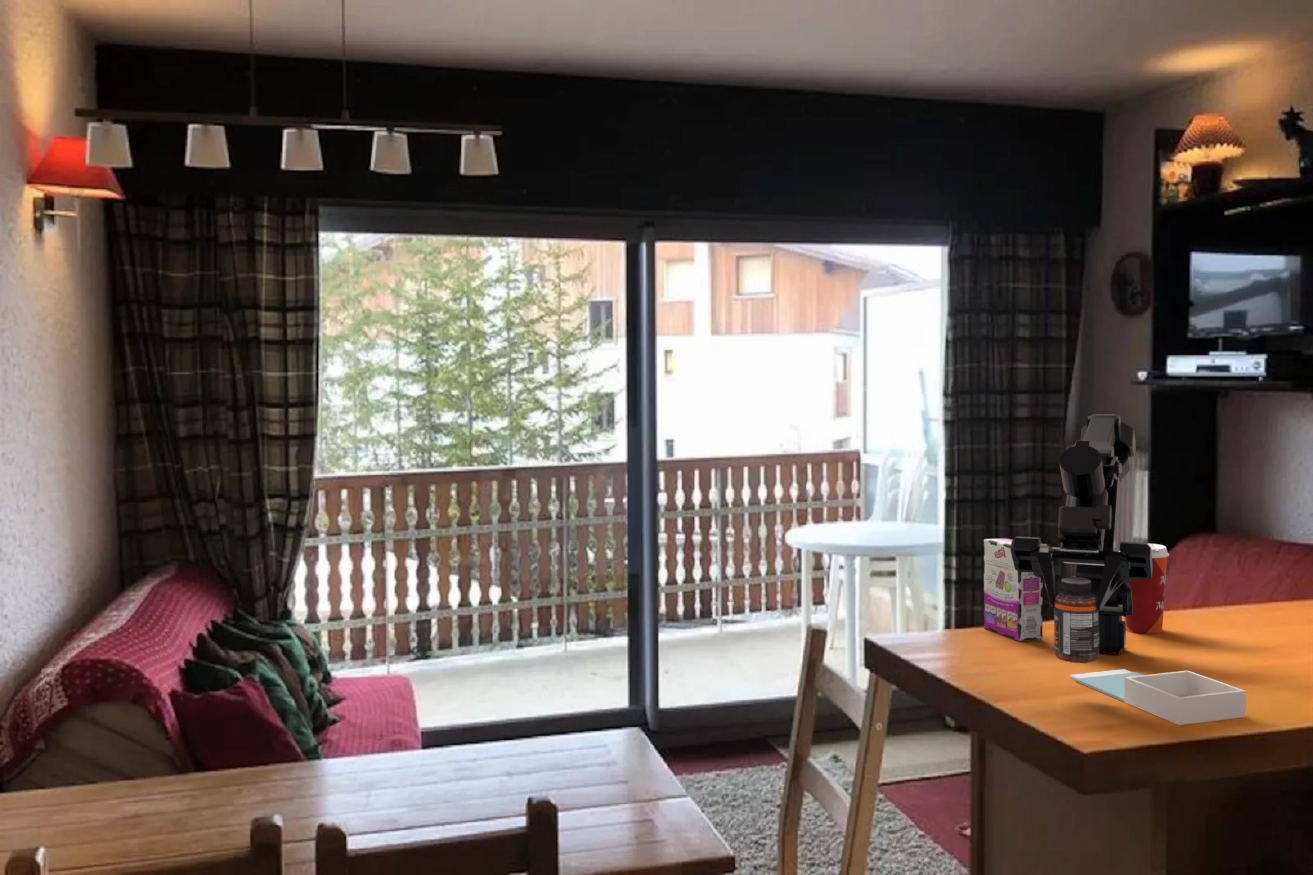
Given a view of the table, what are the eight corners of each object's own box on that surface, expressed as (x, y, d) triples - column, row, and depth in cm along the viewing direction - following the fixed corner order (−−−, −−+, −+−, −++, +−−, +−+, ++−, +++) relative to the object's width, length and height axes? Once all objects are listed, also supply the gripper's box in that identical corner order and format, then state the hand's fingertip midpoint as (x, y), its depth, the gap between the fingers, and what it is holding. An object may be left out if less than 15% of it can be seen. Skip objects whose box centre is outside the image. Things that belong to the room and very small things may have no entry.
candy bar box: (1044, 640, 186) (1044, 545, 185) (1019, 642, 184) (1019, 547, 184) (1006, 626, 197) (1006, 536, 196) (982, 628, 195) (982, 538, 194)
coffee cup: (1177, 635, 187) (1178, 549, 186) (1129, 636, 187) (1130, 550, 186) (1155, 624, 195) (1156, 541, 194) (1110, 624, 195) (1110, 542, 195)
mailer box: (1178, 725, 140) (1178, 698, 140) (1067, 677, 163) (1067, 655, 163) (1245, 716, 143) (1245, 690, 143) (1126, 671, 166) (1126, 648, 165)
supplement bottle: (1054, 651, 157) (1053, 574, 156) (1098, 654, 155) (1098, 576, 154) (1054, 662, 151) (1053, 582, 151) (1099, 665, 149) (1099, 584, 148)
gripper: (1012, 482, 159) (997, 569, 150) (1151, 486, 150) (1144, 579, 142) (1022, 527, 167) (1009, 613, 158) (1155, 533, 158) (1149, 624, 149)
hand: (1074, 607), depth 151 cm, fingers closed on supplement bottle, 6 cm apart
